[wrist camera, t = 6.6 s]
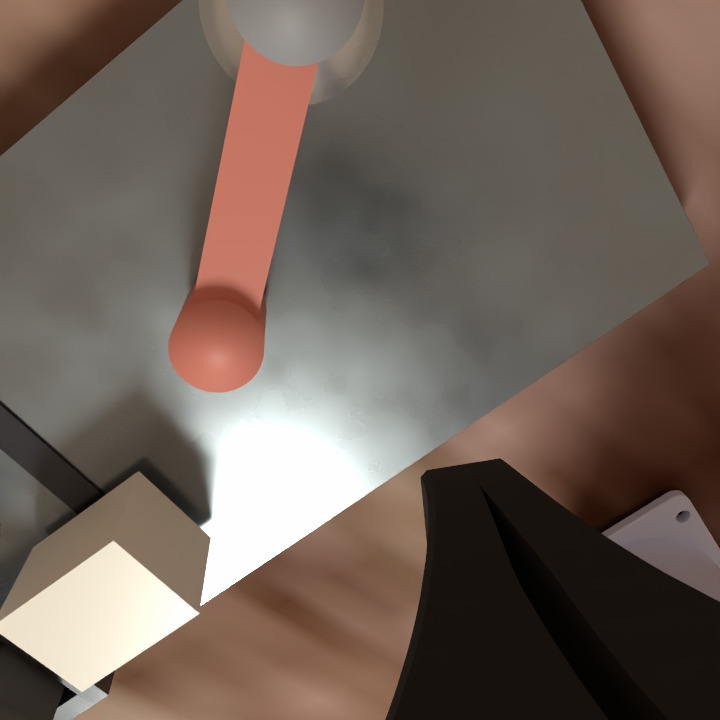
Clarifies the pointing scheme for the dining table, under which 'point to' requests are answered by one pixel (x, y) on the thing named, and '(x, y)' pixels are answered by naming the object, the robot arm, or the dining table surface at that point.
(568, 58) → the console
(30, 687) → the dark grey button
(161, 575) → the cream block
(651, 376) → the dining table surface
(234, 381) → the red lever
